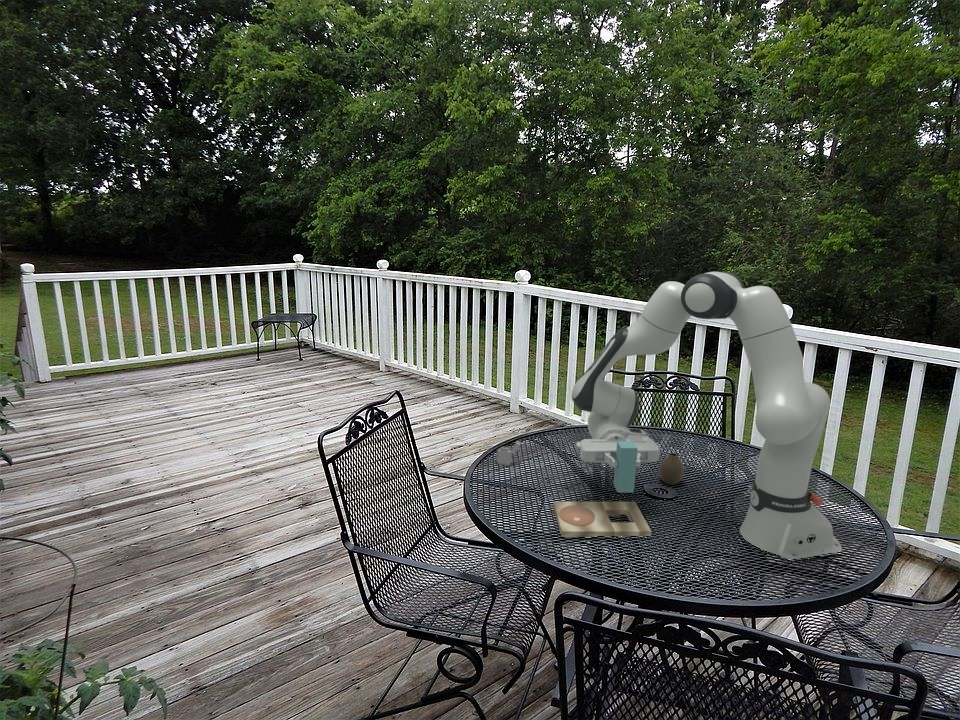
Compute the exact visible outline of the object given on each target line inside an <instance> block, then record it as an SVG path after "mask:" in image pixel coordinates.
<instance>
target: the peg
mask: <svg viewBox="0 0 960 720" xmlns="http://www.w3.org/2000/svg"><path fill="white" fill-rule="evenodd" d="M637 451H638V448H637V446H636V445H635V443H634V442H633V441H617V449H616V458H617V459H618V461H619V464H618V465H619V466H618V467H614V477H613V486H614V488H615V490H616V492H617V493H622V494H623V493H625V494H626V493H635V482H636V472H637V471H636V469H637V467H636V462H637Z"/></svg>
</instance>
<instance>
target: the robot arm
mask: <svg viewBox="0 0 960 720" xmlns="http://www.w3.org/2000/svg"><path fill="white" fill-rule="evenodd" d="M691 317H694V318H697V319H700V320H722V319H723V320H725V319H730V320H731V321H732V322H733V323H734V325H735V327H736V329H737V331H738V334H739V337H740V340H741V343H742V346H743V350H744V352H745V355H746V358H747V360H748V364H749V366H750V367H749V368H750V371H751V376H752V380H753V388H754V389H753V390H754V395H755V404H756V415H755V426H756V429H757V431H758V433H759V435H760V436H761V438H763V439H764V440H765V441H764V442H763V445H762V447H761V449H760V452H759V457H758V463H757V467H756V468H757V469H756V474H755V478H754V480H753V481H752V485H751V491H750V498H749V501H750V502H749V503H750V504H749V507H748V510H747V513H746V515H745V517H744V520H743V522H742V524H741V526H740V527H739V530H740V531H739V534H740V533H741V534H740V536H741V535H742V536H743V537H742V536H741V537H742V539H743V538H744V539H745V540H746V541H745V540H744V539H743V540H744V541H745V542H747V541H748V542H749V543H751V544H752V545H754V546H756V547H758V548H760V549H761V550H760V549H759V550H760V551H763V550H764V551H763V552H765V551H767V552H766V553H768V552H771V553H774V554H776V555H775V556H777V555H779V556H781V557H783V558H786V559H791V560H792V559H800V558H807V557H813V556H817V555H822V554H828V553H837V552H839V551H840V552H841V551H842V552H843V547H842V545H841V543H840V541H838V539H837V538H836V537H835V536H834V530H833V526H832V523H831V521H830V520H829V519H828V518H827V516H825V515H824V514H823V513H822V511H820V510H819V509H817V508H816V507H818V506H821V505H822V503H823V499H822V498H821V497H819V496H818V494H812V493H813V492H812V491H810V489H808V486H809V482H810V477H811V473H812V466H813V463H814V460H815V456H816V453H817V450H818V448H819V445H820V442H821V438H822V435H823V432H824V428H825V426H826V422H827V418H828V415H829V411H830V408H831V399H830V396H829V394H828V392H827V391H826V390H825V389H824V387H822V386H820V385H819V384H816V383H813V382H807V381H805V375H804V357H803V352H802V350H801V347H800V345H799V341H798V338H797V336H796V334H795V333H796V332H795V330H794V328H793V325H792V322H791V320H790V317H789V315H788V313H787V310H786V309H785V307H784V304H783V303H782V301H781V299H780V297H779V296H778V294H777V293H776V291H775V290H773V288H771V287H769V286H765V285H755V286H750V287H747V288H746V287H745V285H744V283H743V281H742V279H740V278H739V277H738V276H737V275H735V274H734V273H731V272H728V271H709V272H704V273H700V274H698V275H695V276H693V277H691V278H690V279H689V280H688V281H687V282H686V283H685V284H684V283H681V282H678V281H668V280H667V281H665V282H663V283H662V284H660V285H659V286H658V288H657V289H656V290H655V291H654V293H653V294H652V295H651V296H650V298H649V299H648V301H647V303H646V304H645V306H644V308H643V310H642V311H641V314H640V315H639V316H638V318H636V320H635V321H634V322H633V323H631V324H630V325H629V326H627V327H625V328H620V329H618V330H617V332H616V333H615V334H614V335H613V336H612V337H611V338H610V339H609V341H608V342H607V343H606V345H605V346H604V347H603V348H602V350H601V351H600V352H599V354H598V355H597V356H596V357H595V359H594V361H593V362H592V363H591V365H589V367H588V368H587V369H586V371H585V372H584V373H583V374H582V375H581V376H580V377H579V378H578V379H577V381H576V382H575V384H574V386H573V389H572V390H571V400H572V402H573V403H574V405H575V407H576V409H578V410H579V411H584V412H588V413H589V414H588V418H587V429H588V432H589V435H590V436H591V438H584V439H581V440H580V441H577V442H576V443H575V447H576V449H578V450H579V456H580V460H581V461H582V462H584V463H605V464H607V465H610V466H611V468H615V467H618V466H619V465H618V464H619V461H618V459H617V458H616V449H617V441H633V442H634V443H635V445H636V446H637V448H638V451H637V462H636V468H641V463H656V462H658V461H659V460H660V458H661V457H660V456H661V455H660V454H661V448H660V446H659V445H658V443H656V442H655V441H654V440H653V439H652V438H651V437H649V436H647V432H646V431H645V430H642V429H636V428H630V426H631V425H632V424H633V423H634V421H635V420H636V418H637V416H638V414H639V410H640V401H639V398H638V394H637V393H636V391H635V389H632V388H630V387H628V386H627V387H626V386H623V385H621V384H617V383H614V382H611V381H608V380H605V379H604V378H605V377H606V376H607V375H608V373H609V372H610V371H611V369H612V368H613V366H614V365H615V364H616V363H617V362H618V361H619V360H621V359H623V358H626V357H630V356H640V355H641V356H653V355H659V354H661V353H664V352H666V351H668V350H670V349H671V347H672V346H673V345H674V344H675V343H676V341H677V339H678V338H679V336H680V334H681V332H682V330H683V328H684V327H685V325H686V323H687V322H688V320H689V319H690V318H691ZM812 503H813V504H812ZM815 506H816V507H815ZM748 542H747V543H748ZM749 543H748V544H749ZM751 544H750V545H751ZM752 545H751V546H752ZM836 545H838V546H836ZM754 546H753V547H754ZM756 547H755V548H756ZM758 548H757V549H758ZM822 551H823V552H822ZM771 553H770V554H771ZM774 554H773V555H774ZM779 556H778V557H779ZM781 557H780V558H781ZM783 558H782V559H783Z"/></svg>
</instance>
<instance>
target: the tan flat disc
mask: <svg viewBox="0 0 960 720" xmlns="http://www.w3.org/2000/svg"><path fill="white" fill-rule="evenodd" d="M559 516H560V518H561V519H562V520H563V521H565V522H566V523H569V524H572V525H577V526H584V525H589V524H591V523H592V522H593V521H594V520H595V515H594V513H593V512H592V511H591V510H589V509H587V508H585V507H582V506H567V507H564V508H562V509H561V510H560V512H559Z"/></svg>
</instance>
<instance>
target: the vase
mask: <svg viewBox="0 0 960 720" xmlns="http://www.w3.org/2000/svg"><path fill="white" fill-rule="evenodd" d="M658 473H659V478H660V479H661V480H662V482H664V483H665V484H667V485H673V486H675V485H677V484H679V483H680V482H682V480H683V477H684V474H685V468H684V463H683V462H682V461H681V459H680V458H679V455H678V453H675V452H670V453H668V455H667V456H666V457H665V458H664V459H663V460H662V461H661V462H660V464H659V469H658Z"/></svg>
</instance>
